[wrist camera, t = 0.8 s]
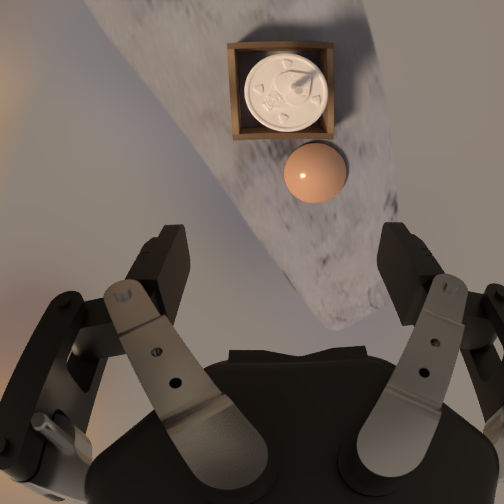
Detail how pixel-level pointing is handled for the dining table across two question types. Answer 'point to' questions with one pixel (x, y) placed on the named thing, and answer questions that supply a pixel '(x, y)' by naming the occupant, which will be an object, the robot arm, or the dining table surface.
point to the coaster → (315, 172)
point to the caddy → (267, 133)
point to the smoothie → (286, 92)
